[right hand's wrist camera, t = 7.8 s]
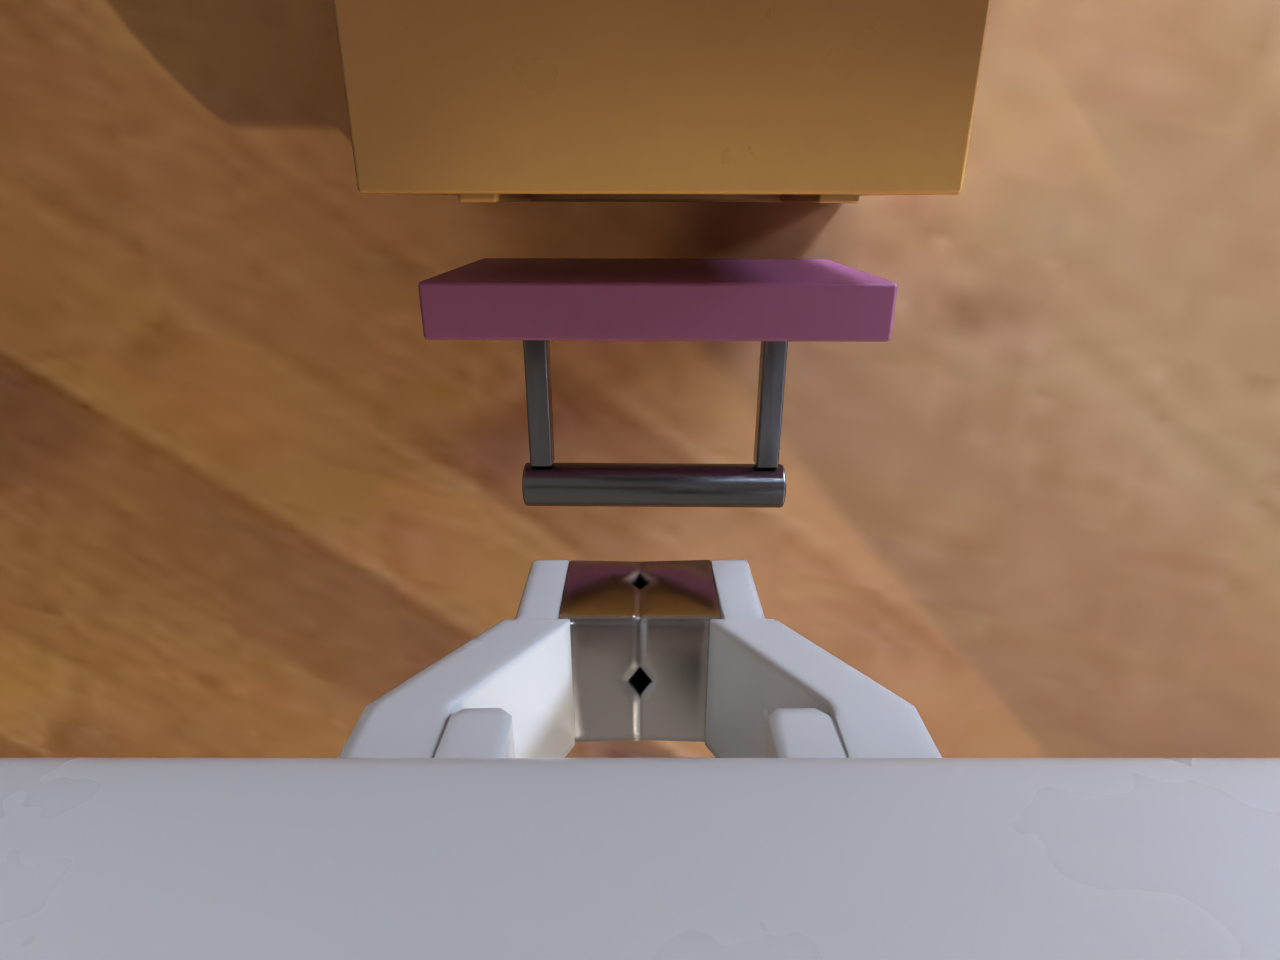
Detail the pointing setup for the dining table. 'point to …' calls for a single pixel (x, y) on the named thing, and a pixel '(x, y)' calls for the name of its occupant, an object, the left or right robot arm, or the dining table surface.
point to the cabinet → (661, 95)
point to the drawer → (656, 311)
